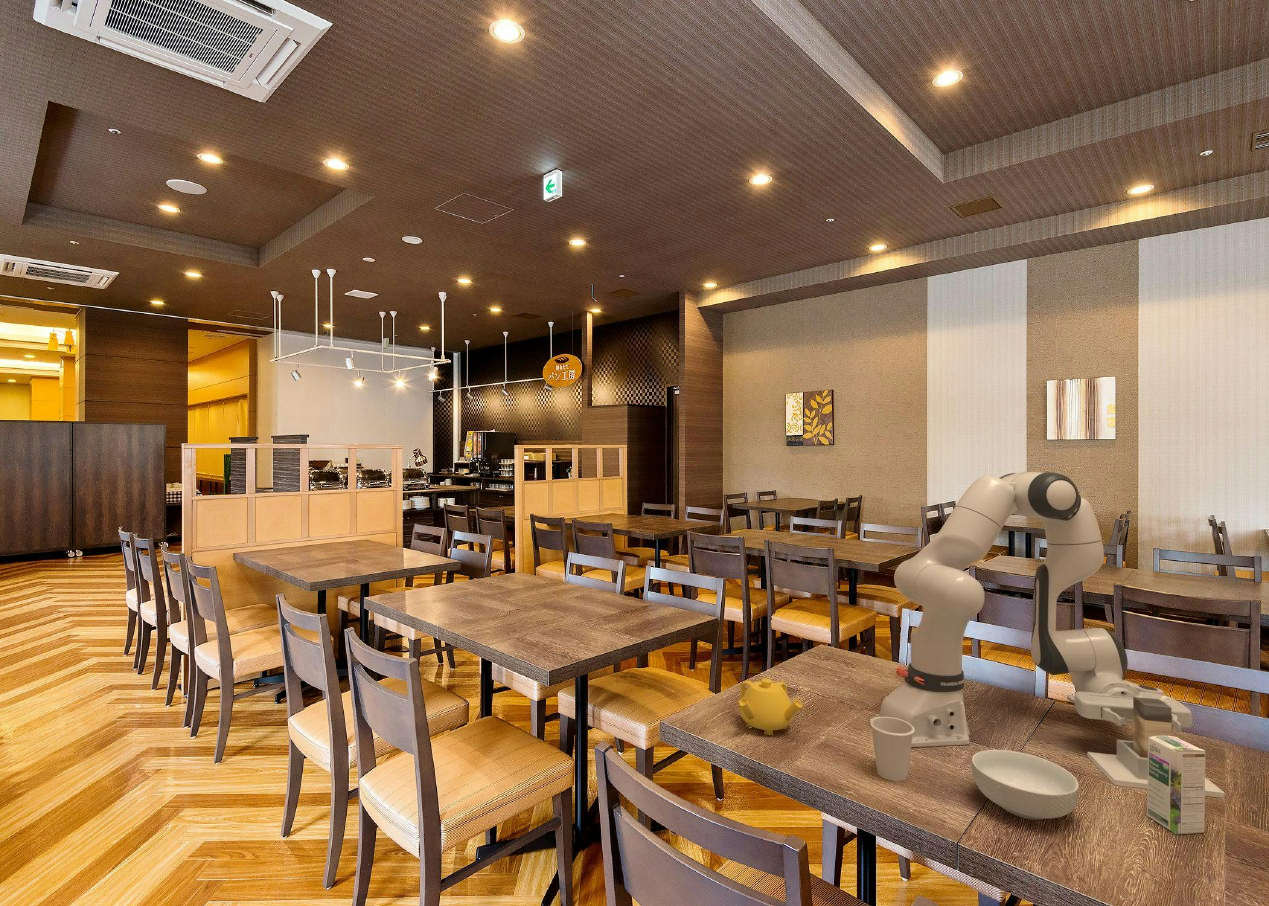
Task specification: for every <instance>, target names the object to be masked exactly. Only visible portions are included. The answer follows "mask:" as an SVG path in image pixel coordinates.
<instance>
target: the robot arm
mask: <svg viewBox="0 0 1269 906" xmlns="http://www.w3.org/2000/svg"><path fill="white" fill-rule="evenodd" d="M1011 516H1021V517H1022V516H1023V517H1026V518H1033V519H1035V518H1036V519H1039V521H1040V522H1041V524H1042V525H1043V526H1044V532H1045V540H1046V547H1047V549H1046V554H1045V559H1044V561H1043V563H1041V565H1039V566H1037V568H1036V570H1035V574H1034V583H1033V612H1032V613H1033V616H1032V618H1033V621H1032V632H1031V638H1030V653H1031V657H1032V659H1033V662H1034V664H1035V666H1036V667H1038V668H1039V669H1040V670H1042V671H1043V672H1045V673H1047V674H1049V675H1051V676H1057V675H1063V674H1064V675H1065V674H1069V679H1070V681H1071V683H1072V685H1073V687H1074V688H1075V689H1076V690H1077V691H1076V692H1074V693H1072V694H1067V695H1066V698H1067V700H1068V701H1069V702H1070V703H1072V704H1074V708H1075V711H1076V712H1077V713H1078V714H1079V715H1080V716H1081V717H1083V718H1086V719H1088V720H1098V721H1099V720H1100V721H1107V722H1108V721H1109V722H1110V723H1111V722H1112V723H1114V724H1115V725H1117V726H1121V727H1127V723H1132V724H1133V697H1141V698H1152V699H1159V700H1161V701H1162V702H1164V703H1165V704H1167V705H1168V706H1170V707H1171V708H1172V731H1173V732H1182V728H1183V729H1190V728H1192V726H1193V725H1192V724H1193V713H1192V711H1191V710H1190V708H1189V707H1187V706H1186V705H1184V704H1183V703H1181V702H1180V701H1178V700H1177V699H1174V698H1173V697H1171V696H1168V695H1165V691H1164V690H1162V689H1161V688H1157V687H1152V686H1147V685H1143V684H1138V683H1134V682H1132V681H1128V680H1126V679H1125V680H1124V679H1123V678H1125V676H1126V674H1127V670H1128V667H1129V666H1128V664H1129V663H1128V662H1129V661H1128V655H1127V652H1126V648H1125V646H1124V645H1123V643H1122V641H1121V640H1120V639H1119V638H1118V637H1117V636H1116V635H1115V634H1114V633H1112V632H1111V631H1110V630H1108V629H1106V628H1105V627H1092V628H1080V629H1067V630H1056V629H1057V602H1058V601H1057V600H1058V598H1059V595H1060V594H1061V593H1062V592H1064V591H1065V590H1066V589H1068V588H1069V587H1071V586H1073V585H1075V584H1077V583H1080V582H1082V581H1084V580H1086V579H1089V578H1090V577H1092V576H1093V575H1095V574H1096V573H1097V572H1098V571H1099V570H1100V568H1102V565H1103V563H1104V561H1105V550H1104V544H1103V539H1102V534H1101V531H1100V530H1101V529H1100V525H1099V523H1098V519H1097V517H1096V514H1095V512H1094V509H1093V507H1092V505H1091V503H1090V502H1089V501H1088V500H1087V499H1086V498H1084V497H1081V495H1080V491H1079V489H1078V487H1077V486H1076V484H1075V483H1074V481H1073V480H1072V479H1071V478H1069V476H1067V475H1064V474H1061V473H1057V472H1053V471H1052V472H1051V471H1047V472H1041V471H1040V472H1039V471H1021V472H1012V473H1007V474H1004V475H1002V476H999V477H997V476H993V475H984V476H983V475H982V476H981V477H979V478H977V479H976V480H975V481H974V482H973V483H972V484H971V485H970V486H969V487H968V488H967V489H966V491H964V493H963V494H962V496H961V497H960V499H959V500H958V501H957V503H956V504H955V506H954V508H953V509H952V511H951V512H950V515H948V518H947V519H946V521H945V522H944V524H943V525H942V526H941V529H940V530H939V531H938V532H937V534H936V535H935V536H934V538H933V539H932V540H931V541H930V542H928V543H927V545H925V546H924V547H923V548H922V549H921V550H920V551H919V552H918V553H917V554H915V555H914V556H913V557H911V558H909V559H907V560H904V561H902V562H901V563H899V565H898V566H897V567H896V569H895V572H894V574H893V581H894V586H895V587H896V589H897V590H898V592H899V593H900V594H901V595H902V596H904V597H905V598H906V599H907V600H908V601H910V602H912V603H914V604H917V605H920V606H922V610H923V611H922V614H921V620H920V622H919V624H918V626H916V627H915V628H913V630H912V631H911V632H910V633H911V634H910V663H908V667H907V669H905V668H903V667H902V666H898V667H896V669H895V674H896V675H897V676H900V677H902V678H904V681H903V682H901V684H899V685H898V686H897V687H896V688H895V689H893V690H892V691H891V692H890V693H889V694H888V695H887V696H886V697H884V698H883V700H882V702H881V705H880V712H879V715H877V716H873V717H871V718H870V719H869V723H870V722H871V720H872V719H874V718H877V717H893V718H898V719H901V720H904V721H906V722H908V723H910V724H911V725H912V726H913V727H914V729H915V731H914V733H913V737H912V744H911V748H919V747H921V748H922V747H939V746H940V747H941V746H959V745H960V746H962V745H963V746H964V745H970V734H971V731H970V729H969V725H968V721H967V716H966V708H965V707H966V706H965V701H964V694H963V689H964V688H965V673H964V670H963V641H964V636H965V632H966V631H967V630H966V629H967V626H968V624H969V622H970V620H971V619H972V618H973V617H975V616H976V615H977V614H979V613H980V611H981V610H982V608H983V607H984V603H985V599H986V598H985V597H986V596H985V590H984V587H983V585H982V584H981V582H980V581H978V580H977V579H976V578H974V577H973V576H972V575H971V574H968V573H967V572H965V569H967V568H968V567H969V566H971V565H972V564H974V563H977V562H979V561H982V560H983V559H984V558H985V557H986V556H987V554H988V553H989V551H990V549H991V548H992V546H993V545H994V543H995V541H996V539H997V538H998V537H999V534H1000V533H1001V531H1002V529H1003V528H1004V525H1005V524H1006V522H1007V520H1008V519H1009V518H1010V517H1011ZM870 727H871V728H872V726H871V725H870Z"/></svg>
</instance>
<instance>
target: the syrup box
mask: <svg viewBox="0 0 1269 906" xmlns="http://www.w3.org/2000/svg"><path fill="white" fill-rule="evenodd" d="M1205 778H1206V750H1205V749H1203V748H1200V747H1197V746H1195V745H1193V744H1191V743H1190V742H1187V741H1185V740H1183V739H1180V738H1179V737H1177V736H1172V735H1171V736H1152V737H1148V789H1147V794H1146V795H1147V800H1146V804H1147V805H1146V816H1147V818H1149V819H1152V820H1153V821H1154V822H1157V823H1158V824H1159V825H1161V826H1162V827H1164V828H1166V829H1168V830H1169V831H1171V832H1172V834H1175V835H1184V834H1185V835H1188V834H1202V833H1205V819H1206V818H1205V816H1206V814H1205V813H1206V810H1205V807H1206V805H1205V804H1206V800H1205V799H1206V796H1205Z"/></svg>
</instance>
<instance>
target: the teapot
mask: <svg viewBox="0 0 1269 906" xmlns="http://www.w3.org/2000/svg"><path fill="white" fill-rule="evenodd" d="M746 686H748V688H747V690H746ZM740 694H741V697H740V698H739V699H738V705H739V715H740V716H741V718H742V720H743V721H744V722H745V723H746V724H745V725H746V726H748V727H754V728H755V729H758V730H763V734H764V733H765V734H767V735H772V734H773V733H774V731H778V730H787V729H788V726H789V724H791V723H792V721H793V720H794V717H795V715H796V714H797V713H798V712H799V711H800V710H801V709H802V708H803V706H804V705H803V703H802V702H801V701H800V700H799V699H795V700H794V701H793V702H792V701H791V699H790V697H789V695H788V686H787V684H786V683H785V682H783V681H777V682H773V681H772V679H770V678H762V679H760V680H758V681H755V682H752V681H750V680H745V681H743V682H742V683H741V684H740ZM746 726H745V727H746ZM748 727H747V728H748ZM786 728H787V729H786ZM765 734H764V735H765ZM767 735H766V736H767ZM772 736H773V735H772Z"/></svg>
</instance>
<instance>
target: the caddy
mask: <svg viewBox="0 0 1269 906" xmlns="http://www.w3.org/2000/svg"><path fill="white" fill-rule="evenodd" d="M1087 758H1088V759H1089V760H1090V761H1091V762H1092V763H1093V764H1094V765H1095V766H1096V767H1097V768H1098V769H1099V770H1100V772H1101V773H1102V774H1103V775H1105V776H1106V777H1107V779H1109V782H1111V783H1112V784H1113V785H1115V786H1120V787H1129V788H1135V789H1137V788H1138V789H1145V790H1148V758H1143V757H1140V756H1139V755H1138V754H1136V753H1135V752H1134V751H1133V740H1125V739H1116V754H1111V753H1110V754H1109V753H1102V752H1093V751H1087ZM1205 797H1214V798H1219V799H1226V793H1225V792H1224V791H1223V790H1222V789H1221V788H1219V787H1218V786H1217V785H1216V784H1214V783H1213V782H1212V781H1210V780H1209V779H1208V778H1207V777H1205Z"/></svg>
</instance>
